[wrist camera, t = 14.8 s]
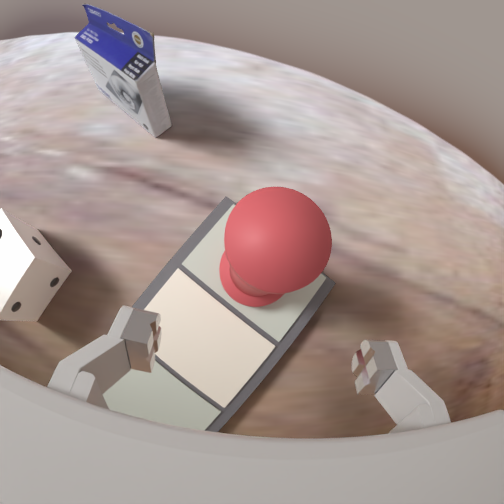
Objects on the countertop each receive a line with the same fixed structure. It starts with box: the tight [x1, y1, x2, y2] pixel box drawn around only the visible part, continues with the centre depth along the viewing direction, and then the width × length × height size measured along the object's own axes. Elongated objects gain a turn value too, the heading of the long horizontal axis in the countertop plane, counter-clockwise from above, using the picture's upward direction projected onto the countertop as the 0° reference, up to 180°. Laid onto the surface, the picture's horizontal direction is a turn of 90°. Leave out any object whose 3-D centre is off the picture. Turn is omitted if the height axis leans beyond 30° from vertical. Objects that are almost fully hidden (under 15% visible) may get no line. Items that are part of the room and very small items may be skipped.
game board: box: [102, 197, 335, 432], centre depth 21 cm, size 26×11×1 cm, turn 142°
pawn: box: [219, 187, 332, 307], centre depth 17 cm, size 5×5×10 cm
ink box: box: [75, 3, 172, 137], centre depth 20 cm, size 12×2×12 cm, turn 47°
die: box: [0, 209, 72, 321], centre depth 19 cm, size 6×6×6 cm
